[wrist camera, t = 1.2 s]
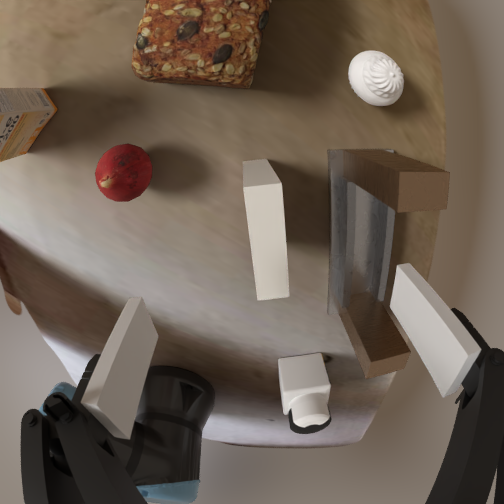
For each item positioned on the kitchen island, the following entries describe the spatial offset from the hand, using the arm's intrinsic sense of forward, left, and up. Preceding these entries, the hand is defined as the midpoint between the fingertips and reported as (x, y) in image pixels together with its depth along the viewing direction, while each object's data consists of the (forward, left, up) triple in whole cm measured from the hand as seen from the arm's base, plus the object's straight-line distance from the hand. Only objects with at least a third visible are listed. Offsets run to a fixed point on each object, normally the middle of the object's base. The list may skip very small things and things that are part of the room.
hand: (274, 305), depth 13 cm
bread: (+22, +2, -19) cm, 29 cm away
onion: (+6, +13, -19) cm, 24 cm away
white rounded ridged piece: (+13, -13, -19) cm, 27 cm away
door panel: (0, 0, -19) cm, 19 cm away
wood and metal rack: (-6, -12, -19) cm, 23 cm away
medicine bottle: (-29, -4, -19) cm, 35 cm away
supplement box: (+16, +27, -19) cm, 36 cm away
